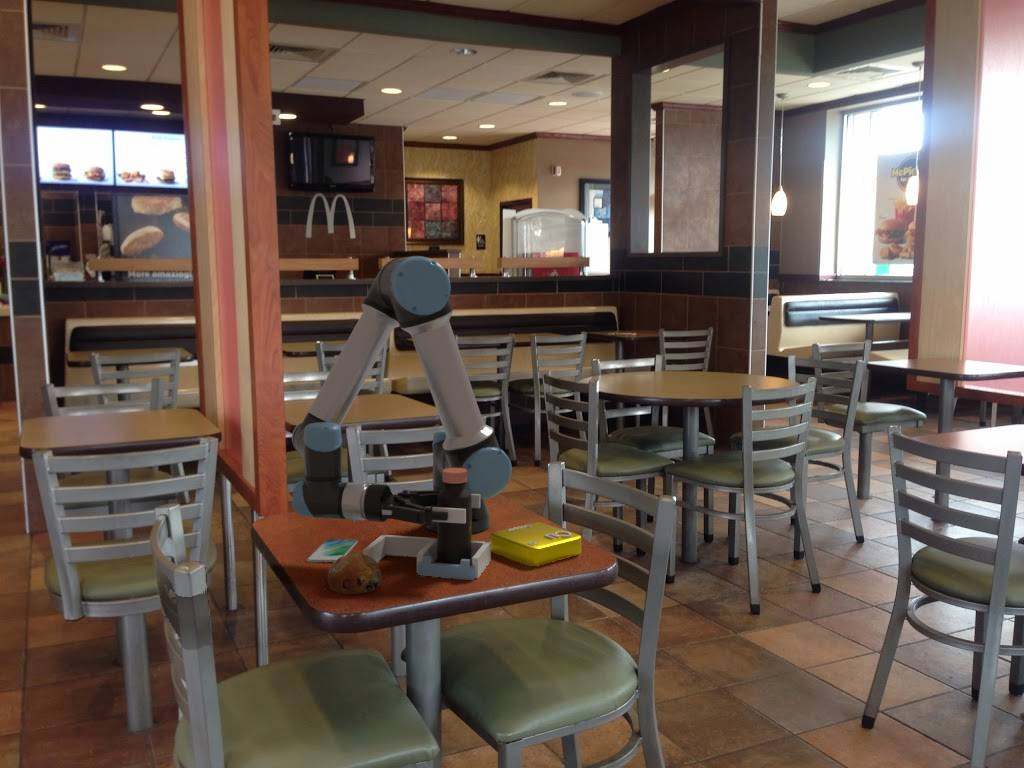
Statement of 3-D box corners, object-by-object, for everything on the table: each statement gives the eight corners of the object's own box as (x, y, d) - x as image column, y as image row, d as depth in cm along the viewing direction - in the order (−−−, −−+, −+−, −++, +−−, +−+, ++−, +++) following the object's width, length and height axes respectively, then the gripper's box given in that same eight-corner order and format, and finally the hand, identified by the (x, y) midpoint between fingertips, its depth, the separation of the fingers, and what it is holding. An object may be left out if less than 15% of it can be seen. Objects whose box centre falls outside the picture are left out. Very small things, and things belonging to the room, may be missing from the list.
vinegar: (444, 560, 184) (444, 465, 182) (475, 564, 182) (476, 468, 180) (432, 571, 178) (432, 472, 175) (464, 574, 176) (465, 475, 173)
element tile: (538, 539, 201) (538, 518, 201) (585, 555, 190) (585, 533, 189) (486, 552, 191) (486, 530, 191) (532, 570, 180) (532, 547, 180)
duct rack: (382, 552, 189) (382, 534, 189) (490, 560, 184) (490, 541, 184) (360, 571, 177) (360, 551, 176) (476, 580, 172) (476, 560, 172)
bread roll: (375, 595, 174) (368, 554, 176) (392, 588, 166) (385, 545, 168) (325, 603, 170) (319, 561, 172) (340, 596, 161) (333, 552, 163)
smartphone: (305, 560, 183) (326, 539, 197) (305, 564, 183) (326, 542, 198) (339, 560, 182) (358, 539, 197) (339, 564, 182) (358, 543, 197)
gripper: (388, 505, 194) (486, 511, 189) (346, 536, 171) (457, 544, 166) (387, 471, 193) (486, 477, 188) (346, 498, 170) (457, 504, 165)
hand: (473, 508), depth 177 cm, fingers open, 11 cm apart
